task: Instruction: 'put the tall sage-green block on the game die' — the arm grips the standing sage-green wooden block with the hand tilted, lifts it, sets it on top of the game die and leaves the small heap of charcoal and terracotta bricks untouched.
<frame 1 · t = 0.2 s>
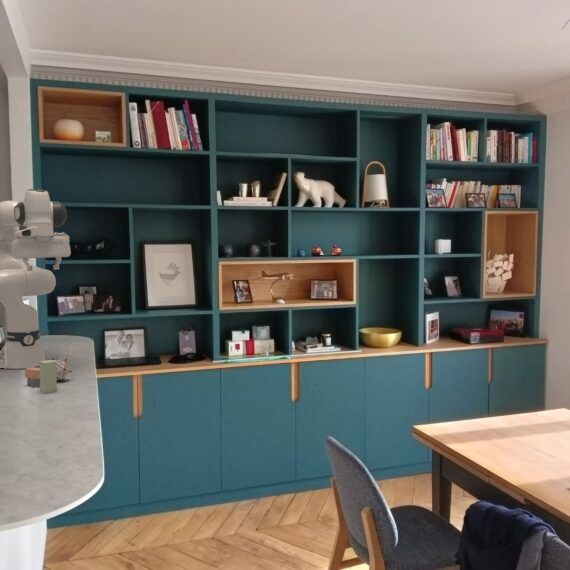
hand: (43, 270, 211), 39 cm above the counter, tool pointing down, fingers open, 8 cm apart
terracotta brick: (35, 377, 198), point 3 cm above the counter
game die: (58, 381, 205), on the counter
green block: (48, 391, 191), on the counter
charcoal brick: (35, 386, 198), on the counter
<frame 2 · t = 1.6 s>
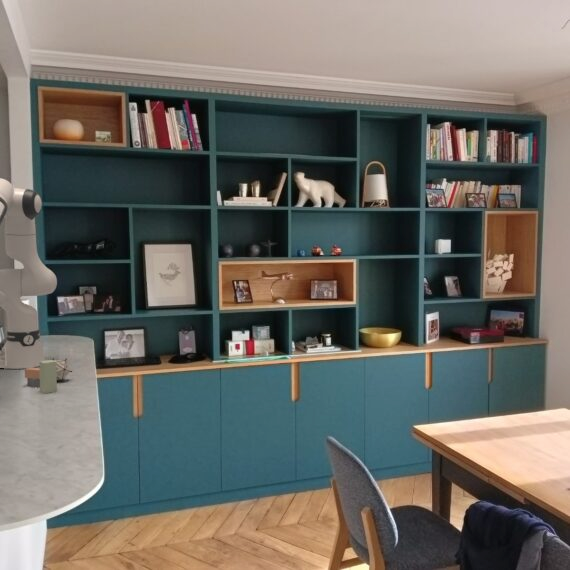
hand: (4, 309, 185), 28 cm above the counter, tool tilted 45°, fingers open, 8 cm apart
terracotta brick: (35, 377, 198), point 3 cm above the counter, touching charcoal brick
charcoal brick: (35, 386, 198), on the counter, touching terracotta brick
everything else where it was.
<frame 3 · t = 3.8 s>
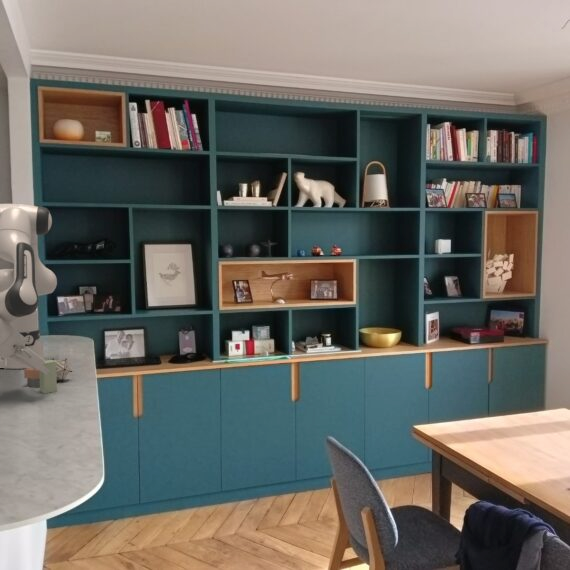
hand: (42, 370, 189), 7 cm above the counter, tool tilted 45°, fingers open, 8 cm apart
nothing on the counter moved.
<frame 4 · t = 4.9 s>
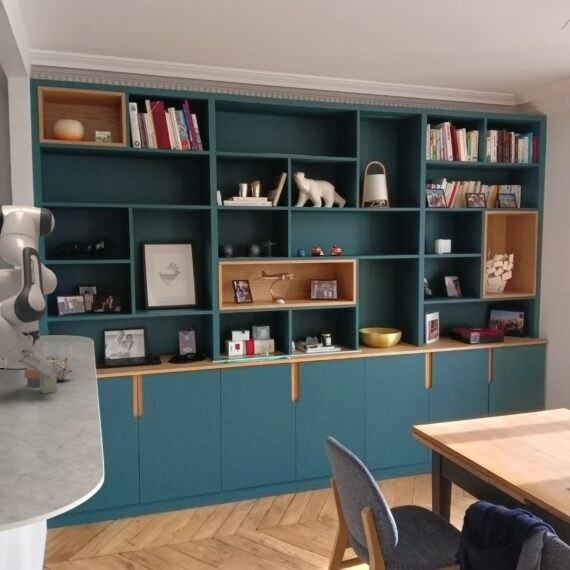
hand: (50, 374, 191), 5 cm above the counter, tool tilted 45°, fingers closed on green block, 4 cm apart
green block: (48, 391, 191), on the counter, touching gripper
everything else where it was.
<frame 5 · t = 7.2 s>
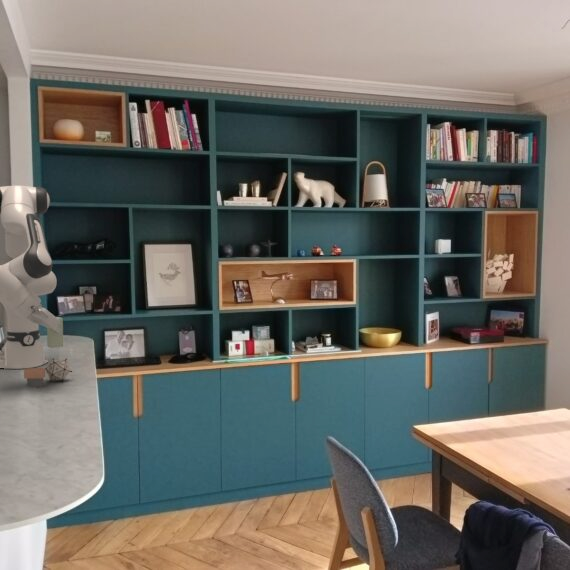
hand: (56, 331, 201), 18 cm above the counter, tool tilted 45°, fingers closed on green block, 4 cm apart
green block: (55, 346, 202), point 13 cm above the counter, touching gripper
everything else where it was.
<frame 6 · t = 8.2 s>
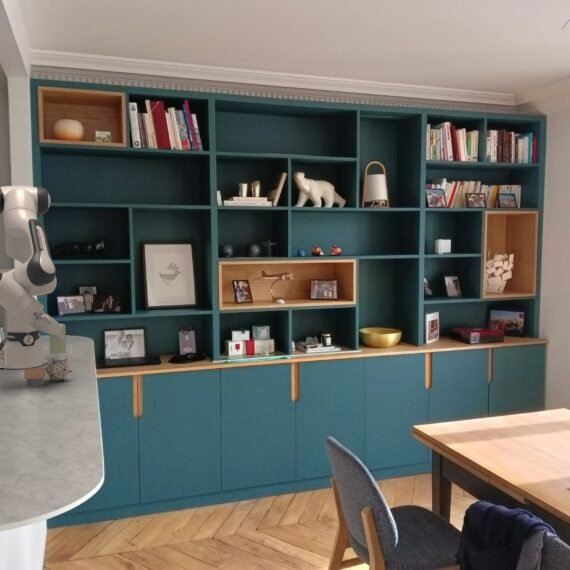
hand: (59, 337, 204), 16 cm above the counter, tool tilted 45°, fingers closed on green block, 4 cm apart
terracotta brick: (35, 377, 198), point 3 cm above the counter
green block: (58, 352, 204), point 10 cm above the counter, touching gripper
charcoal brick: (35, 386, 198), on the counter
everything else where it was.
when the fingers open (15 cm above the counter, at t = 8.6 s): green block drops 2 cm, resting on game die.
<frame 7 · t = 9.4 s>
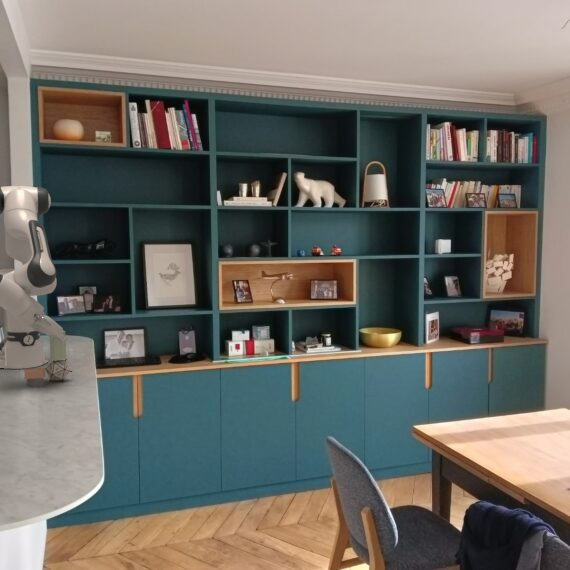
hand: (59, 338, 204), 15 cm above the counter, tool tilted 45°, fingers open, 8 cm apart
terracotta brick: (35, 377, 198), point 3 cm above the counter, touching charcoal brick
game die: (58, 381, 205), on the counter, touching green block
green block: (58, 359, 204), point 8 cm above the counter, touching game die
charcoal brick: (35, 386, 198), on the counter, touching terracotta brick
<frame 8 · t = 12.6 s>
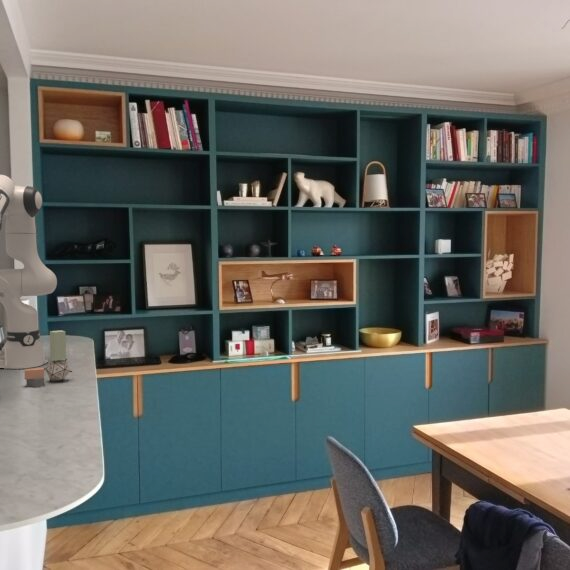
hand: (8, 296, 188), 31 cm above the counter, tool tilted 45°, fingers open, 8 cm apart
nothing on the counter moved.
at the end: green block inside the target area on the game die (0.4 cm from its centre), point 8.2 cm above the game die's base; green block tilted 0°; charcoal brick moved 0.3 cm from its start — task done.
